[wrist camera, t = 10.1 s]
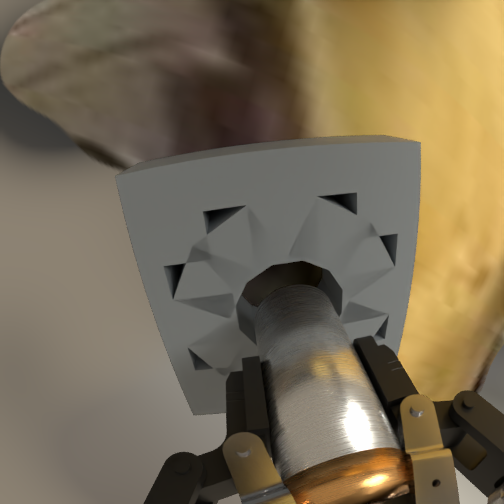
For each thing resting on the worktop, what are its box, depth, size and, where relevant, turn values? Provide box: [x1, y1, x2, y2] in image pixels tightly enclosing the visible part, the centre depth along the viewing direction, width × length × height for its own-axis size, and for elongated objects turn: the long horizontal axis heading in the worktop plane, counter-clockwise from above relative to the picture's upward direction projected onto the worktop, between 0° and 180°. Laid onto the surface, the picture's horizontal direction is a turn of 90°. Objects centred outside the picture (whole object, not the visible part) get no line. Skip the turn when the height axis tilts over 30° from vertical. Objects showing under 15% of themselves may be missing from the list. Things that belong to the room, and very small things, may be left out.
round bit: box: [254, 284, 410, 504], centre depth 11 cm, size 4×4×10 cm
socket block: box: [115, 135, 421, 415], centre depth 17 cm, size 16×14×4 cm
